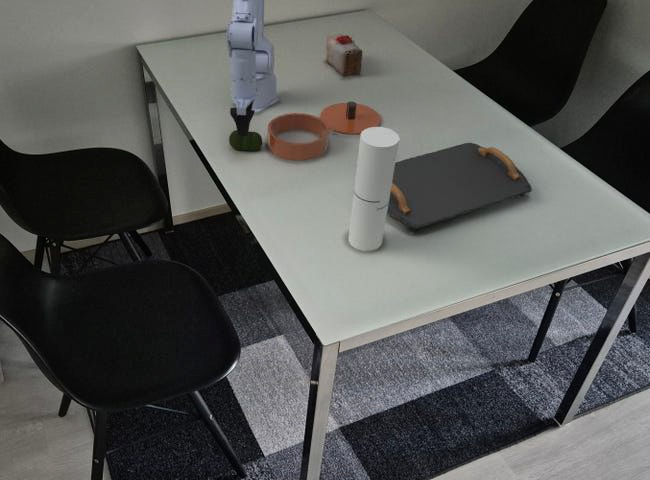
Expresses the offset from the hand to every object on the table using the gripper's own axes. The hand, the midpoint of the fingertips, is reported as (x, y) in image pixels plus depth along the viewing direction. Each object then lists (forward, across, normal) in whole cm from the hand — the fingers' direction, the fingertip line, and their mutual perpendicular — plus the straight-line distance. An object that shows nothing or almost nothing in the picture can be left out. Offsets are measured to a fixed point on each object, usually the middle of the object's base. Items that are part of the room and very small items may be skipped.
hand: (244, 126), depth 156 cm
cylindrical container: (+6, -34, -28) cm, 45 cm away
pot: (+6, +2, -13) cm, 15 cm away
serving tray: (+6, -15, -48) cm, 50 cm away
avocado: (+6, 0, 0) cm, 6 cm away
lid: (+6, +16, -27) cm, 32 cm away
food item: (+7, +48, -26) cm, 55 cm away
